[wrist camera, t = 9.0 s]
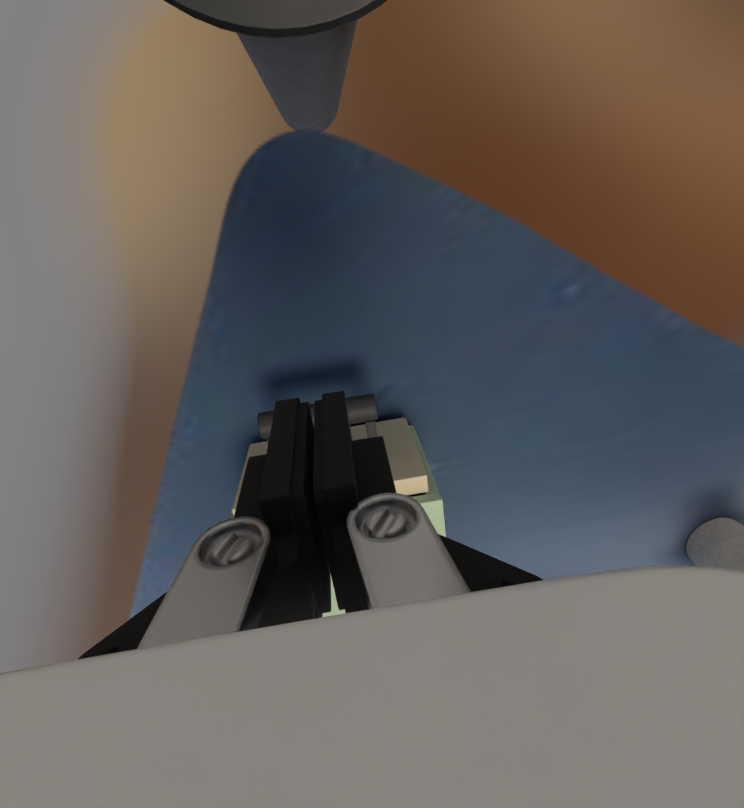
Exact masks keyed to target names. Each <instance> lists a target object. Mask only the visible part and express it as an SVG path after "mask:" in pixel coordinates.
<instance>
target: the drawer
mask: <svg viewBox="0 0 744 808" xmlns="http://www.w3.org/2000/svg"><path fill="white" fill-rule="evenodd" d="M345 399H346V405H347V411H348V417H349V423H350V424H356V423H362V422H365V424H364V425H358V426H352V427H350V429H351V435H352V441H353V440H359V439H365V438H372V437H378V436H383V439H384V443H385V447H386V451H387V456H388V460H389V464H390V468H391V472H392V476H393V480H394V485H395V489H396V493H399V494H403V495H407V496H410V497H414V494H419V493H424V492H428V481H427V475H426V472H425V469H424V466H423V464H422V461H421V458H420V456H419V453H418V450H417V447H416V445H415V442H414V439H413V437H412V434H411V431H410V429H409V426H408V423H407V420H406V418H405V417H404V418H398V419H392V420H387V421H381V422H375V420H377V419H378V413H377V407H376V402H375V397H374V394H368V395H362V396H356V397H350V398H345ZM309 407H310V411H311V416H312V421H313V426H314V408H315V404H309ZM273 416H274V411H268V412H262V413H259V414H258V417H257V422H258V429H259V433H260V436H261V438H262V439H267V441H265V442H260V443H254V444H250V446H249V450H248V453H247V457H246V461H245V464H244V468H243V471H242V475H241V479H240V482H239V486H238V489H237V493H236V497H235V500H234V504H233V508H232V512H233V515H235V511H236V506H237V502H238V498H239V494H240V490H241V486H242V482H243V478H244V474H245V470H246V466H247V462H248V459H249V457H251V456H258V455H264V454H266V453H267V448H268V443H269V437H270V432H271V426H272V421H273Z"/></svg>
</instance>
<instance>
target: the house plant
mask: <svg viewBox="0 0 744 808" xmlns="http://www.w3.org/2000/svg"><path fill="white" fill-rule="evenodd" d="M686 551H687V554H688V556H689V557H690V559H691V560H692V561H693V563H694V564H695V566H711V567H719V568H727V569H735V570H743V571H744V525H742V524H740V523H739V522H737V521H735V520H733V519H730V518H716V519H713V520H710V521H707V522H706V523H704V524H702V525H701V526H699V527H698V528H697V529H696V530H695V531H694V532H693V533H692V534H691V536H690V537H689V539H688V541H687V545H686Z"/></svg>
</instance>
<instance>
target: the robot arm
mask: <svg viewBox="0 0 744 808" xmlns="http://www.w3.org/2000/svg"><path fill="white" fill-rule="evenodd" d="M331 577H332V582H333V587H334V591H335V596H336V600H337V605H338V609H339V610H344V609H345V612H346V613H345V614H339V615H333V616H327V617H322V613H327V612H331ZM0 808H744V571H743V570H735V569H727V568H719V567H711V566H676V565H669V566H652V567H635V568H627V569H619V570H612V571H604V572H597V573H589V574H582V575H574V576H567V577H560V578H554V579H548V580H543V579H541V578H539V577H537V576H535V575H533V574H531V573H528V572H526V571H524V570H521V569H519V568H517V567H514V566H512V565H510V564H507V563H505V562H503V561H500V560H498V559H496V558H493V557H491V556H489V555H486V554H484V553H482V552H479V551H477V550H475V549H472V548H470V547H468V546H465V545H463V544H461V543H458V542H456V541H454V540H451V539H449V538H447V537H444V536H442V535H440V534H438V533H437V531H436V530H435V528H434V526H433V524H432V523H431V521H430V519H429V517H428V516H427V514H426V512H425V510H424V508H423V507H422V506H421V505H420V503H419V502H418V501H417V500H415V499H413V498H411V497H410V496H407V495H403V494H399V493H396V489H395V485H394V480H393V476H392V472H391V468H390V464H389V460H388V456H387V451H386V447H385V443H384V439H383V436H378V437H372V438H365V439H359V440H353V441H352V435H351V429H350V423H349V417H348V411H347V405H346V399H345V393H344V391H339V392H332V393H326V394H322V400H318V401H315V408H314V426H313V421H312V416H311V411H310V407H309V403H308V402H305V403H301V402H300V399H299V398H294V399H287V400H281V401H276V405H275V410H274V416H273V421H272V426H271V432H270V437H269V443H268V448H267V453H266V454H264V455H258V456H251V457H249V459H248V462H247V466H246V470H245V474H244V478H243V482H242V486H241V490H240V494H239V498H238V502H237V506H236V511H235V515H234V518H230V519H227V520H224V521H221V522H219V523H217V524H215V525H213V526H212V527H210V528H208V529H207V530H206V531H205V532H203V533H202V534H201V535H200V536H199V537H198V538H197V539H196V541H195V542H194V544H193V545H192V547H191V549H190V550H189V552H188V554H187V556H186V558H185V560H184V562H183V564H182V565H181V567H180V569H179V571H178V573H177V575H176V577H175V579H174V580H173V582H172V584H171V586H170V588H169V590H168V592H166V593H165V594H163V595H162V596H161V597H159V598H158V599H157V600H155V601H154V602H153V603H151V604H150V605H149V606H147V607H146V608H145V609H143V610H142V611H141V612H139V613H138V614H137V615H135V616H134V617H133V618H131V619H130V620H128V621H127V622H126V623H124V624H123V625H122V626H120V627H119V628H118V629H116V630H115V631H114V632H112V633H111V634H110V635H108V636H107V637H106V638H104V639H103V640H102V641H100V642H99V643H97V644H96V645H95V646H93V647H92V648H91V649H89V650H88V651H87V652H85V653H84V654H83V655H82V656H81V657H80V658H79V659H77V660H72V661H66V662H60V663H55V664H49V665H43V666H38V667H32V668H26V669H21V670H15V671H9V672H4V673H0Z"/></svg>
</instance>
